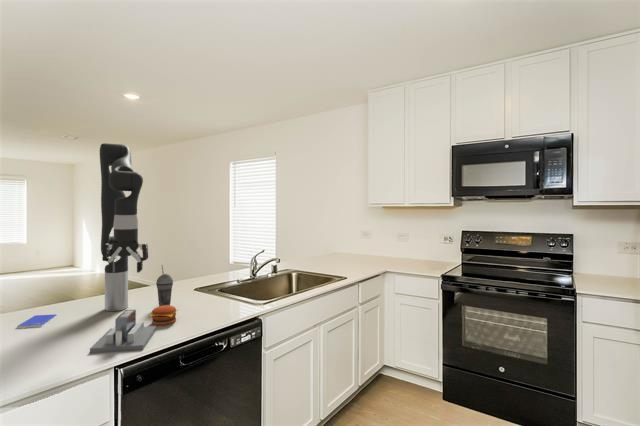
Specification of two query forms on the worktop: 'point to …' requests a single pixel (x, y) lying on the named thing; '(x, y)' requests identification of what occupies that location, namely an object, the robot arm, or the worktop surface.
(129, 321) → the block
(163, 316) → the hamburger
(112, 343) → the dock
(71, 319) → the worktop surface
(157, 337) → the worktop surface
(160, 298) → the beverage cup
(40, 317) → the hard drive
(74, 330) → the worktop surface
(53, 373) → the worktop surface
